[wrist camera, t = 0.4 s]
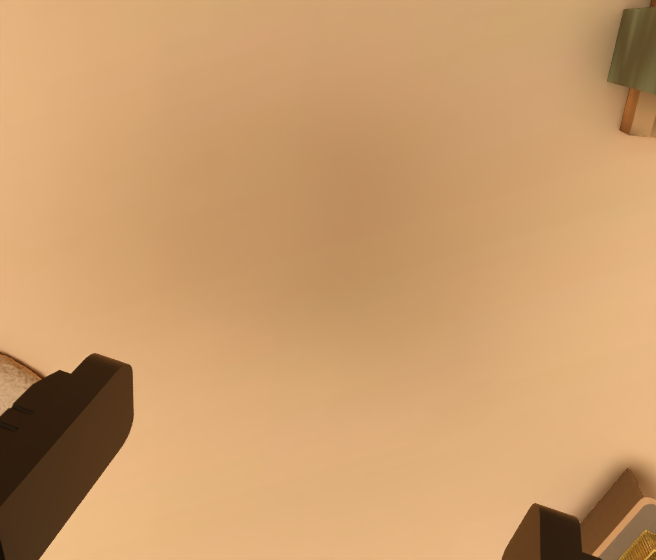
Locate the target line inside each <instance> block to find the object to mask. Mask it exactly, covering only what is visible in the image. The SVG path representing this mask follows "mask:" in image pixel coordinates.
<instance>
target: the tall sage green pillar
mask: <svg viewBox="0 0 656 560" xmlns="http://www.w3.org/2000/svg"><path fill="white" fill-rule="evenodd" d="M607 81H608V82H611V83H615V84H619V85H622V86H626V87H629V88H630V91H629V95H628V99H627V103H626V107H625V111H624V115H623V119H622V123H621V127H620V131H622V132H624V133H626V134H628V135H634V136H646V137H656V0H652V1H651V5H650V7H649V8H637V9H626V10H624V11H623V16H622V20H621V24H620V29H619V33H618V37H617V41H616V46H615V50H614V54H613V59H612V63H611V67H610V72H609V76H608V80H607Z"/></svg>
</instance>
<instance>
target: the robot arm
mask: <svg viewBox="0 0 656 560" xmlns="http://www.w3.org/2000/svg"><path fill="white" fill-rule="evenodd" d="M133 417H134V409H133V372H132V367H131V366H130V365H129V364H126V363H123V362H120V361H117V360H114V359H111V358H108V357H105V356H102V355H100V354H96V353H94V354H91V355H89V356H88V357H87V358H86V359H85V360H84V361H83V362H82V363H81V364H80V365H79V366H78V367H77V368H76V369H75V370H74V371H73V372H72V373H71V374H70V373H67V372H64V371H61V370H58V371H57V372H55V373H53V374H51V375H49V376H47V377H45V378H43V379H41V380H39V381H37V382H36V383H34V384H32V385H31V386H30V387H29V388H28V389H27V390H26V391H25V392H24V393H23V394H22V395H21V396H20V397H19V398H18V399H17V400H16V401H15V402H14V403H13V405H12V407H11V408H8V409H7V410H6V411H5V412H4V413H3V414H2V415H1V416H0V560H39V559H40V557H41V556H42V555H43V553H44V552H45V551H46V549H47V548H48V546H49V545H50V544H51V542H52V541H53V540H54V538H55V537H56V536H57V534H58V533H59V531H60V530H61V529H62V527H63V526H64V525H65V523H66V522H67V521H68V519H69V518H70V517H71V515H72V514H73V512H74V511H75V510H76V508H77V507H78V506H79V504H80V503H81V502H82V500H83V499H84V498H85V496H86V495H87V493H88V492H89V491H90V489H91V488H92V487H93V485H94V484H95V483H96V481H97V480H98V478H99V477H100V476H101V474H102V473H103V472H104V470H105V469H106V468H107V466H108V465H109V464H110V462H111V461H112V459H113V458H114V457H115V455H116V454H117V453H118V451H119V450H120V449H121V447H122V446H123V444H124V443H125V441H126V439H127V437H128V435H129V432H130V430H131V427H132V423H133ZM502 560H602V559H601V558H598V557H595V556H593V555H590V554H587V553H584V552H582V542H581V529H580V523H579V520H578V519H577V517H575V516H572V515H569V514H566V513H563V512H560V511H557V510H554V509H551V508H548V507H545V506H542V505H539V504H536V503H535V504H533V505H532V506H531V507H530V509H529V510H528V512H527V514H526V515H525V517H524V519H523V520H522V522H521V524H520V525H519V527H518V529H517V530H516V532H515V534H514V535H513V537H512V539H511V540H510V542H509V544H508V545H507V547H506V549H505V551H504V554H503V557H502Z"/></svg>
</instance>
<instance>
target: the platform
mask: <svg viewBox="0 0 656 560" xmlns="http://www.w3.org/2000/svg"><path fill="white" fill-rule="evenodd" d="M580 529H581V542H582V552H584V553H587V554H590V555H593V556H595V557H598V558H601V559H602V560H624V559H625V560H629V559H630V560H656V500H655V499H653V498H650V497H645V498H644V497H643V495H642V493H641V491H640V489H639V487H638V484H637V482H636V480H635V478H634V476H633V474H632V472H631V470H630V469H629V468H627V470H626V471H625V472H624V473H623V474H622V476H621V477H620V478H619V479H618V480H617V481H616V483H615V484H614V485H613V486H612V487H611V489H610V490H609V491H608V492H607V493H606V495H605V496H604V497H603V498H602V499H601V501H600V502H599V503H598V504H597V505H596V506H595V508H594V509H593V510H592V511H591V512H590V514H589V515H588V516H587V517H586V518H585V520H584V521H583V522H582V523H581V524H580ZM646 532H647V533H646ZM644 534H645V535H644ZM642 536H643V537H642ZM645 536H646V537H645ZM648 537H649V538H648ZM643 538H644V539H643ZM646 538H647V540H646ZM649 539H650V540H649ZM644 540H645V541H644ZM647 541H648V542H647ZM650 541H651V542H650ZM642 542H643V543H642ZM645 542H646V543H645ZM648 543H649V544H648ZM651 543H652V544H651ZM643 544H644V545H643ZM646 545H647V546H646ZM649 545H650V546H649ZM647 547H648V548H647ZM650 547H651V548H650ZM648 549H649V550H648ZM651 549H652V551H651ZM646 551H647V552H646ZM649 551H650V552H649ZM647 553H648V554H647ZM627 554H628V555H627ZM625 555H626V556H625ZM628 556H629V557H628ZM626 558H627V559H626Z"/></svg>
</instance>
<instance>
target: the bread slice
mask: <svg viewBox="0 0 656 560" xmlns="http://www.w3.org/2000/svg"><path fill="white" fill-rule="evenodd" d="M39 380H41V378H40V377H38V375H37V374H35V373H33V372H32V371H31V370H29V369H28V368H26V367H25V366H23V365H21V364H19V363H18V362H15V361H14V360H13V358H11V357H8V356H7V355H1V354H0V416H1V415H2V414H3V413H4V412H5V411H6V410H7V409H8V408H11V407H12V405H13V403H14V402H15V401H16V400H17V399H18V398H19V397H20V396H21V395H22V394H23V393H24V392H25V391H26V390H27V389H28V388H29V387H30V386H31V385H32V384H34V383H36V382H37V381H39Z"/></svg>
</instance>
